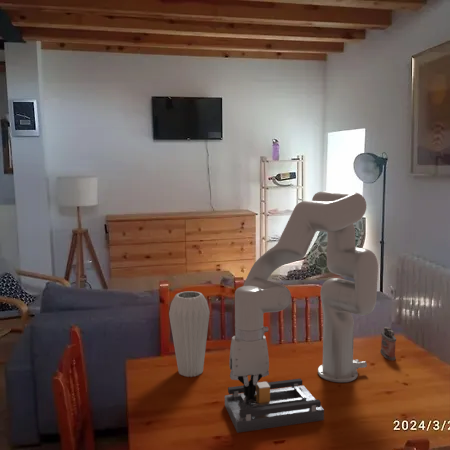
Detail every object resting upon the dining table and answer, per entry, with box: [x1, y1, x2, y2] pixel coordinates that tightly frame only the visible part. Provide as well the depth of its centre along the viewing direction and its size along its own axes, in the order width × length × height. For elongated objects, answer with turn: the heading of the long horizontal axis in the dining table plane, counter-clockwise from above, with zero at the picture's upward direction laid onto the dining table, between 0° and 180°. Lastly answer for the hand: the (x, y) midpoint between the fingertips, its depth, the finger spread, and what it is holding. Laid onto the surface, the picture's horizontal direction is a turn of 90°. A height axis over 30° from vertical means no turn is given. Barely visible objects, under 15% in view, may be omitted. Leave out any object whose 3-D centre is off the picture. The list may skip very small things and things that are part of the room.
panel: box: [224, 384, 325, 434], centre depth 128 cm, size 24×14×5 cm, turn 103°
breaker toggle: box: [256, 381, 271, 403], centre depth 127 cm, size 3×3×5 cm
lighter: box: [380, 326, 397, 361], centre depth 165 cm, size 8×3×10 cm, turn 6°
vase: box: [168, 290, 211, 378], centre depth 153 cm, size 13×13×26 cm
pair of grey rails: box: [227, 378, 322, 421], centre depth 128 cm, size 22×14×2 cm, turn 103°
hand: (249, 397), depth 127 cm, fingers closed
